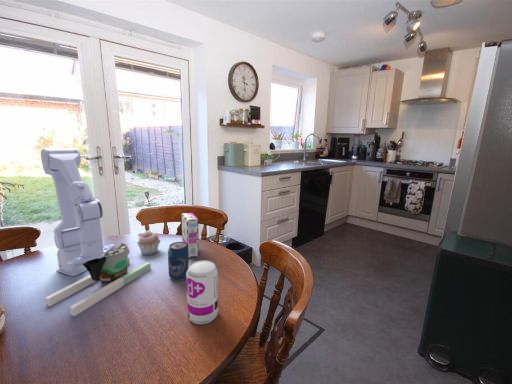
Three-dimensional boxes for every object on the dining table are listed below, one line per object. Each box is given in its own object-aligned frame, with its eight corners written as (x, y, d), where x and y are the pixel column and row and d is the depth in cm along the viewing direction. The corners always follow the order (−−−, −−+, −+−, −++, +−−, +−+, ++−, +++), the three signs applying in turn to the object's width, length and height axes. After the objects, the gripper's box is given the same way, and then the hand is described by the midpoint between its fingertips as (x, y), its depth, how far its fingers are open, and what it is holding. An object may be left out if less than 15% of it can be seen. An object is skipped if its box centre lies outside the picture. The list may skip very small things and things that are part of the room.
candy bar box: (199, 256, 106) (198, 219, 102) (187, 258, 103) (186, 220, 100) (193, 246, 115) (192, 211, 112) (182, 248, 113) (180, 213, 110)
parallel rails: (46, 305, 73) (45, 297, 73) (126, 262, 99) (126, 256, 98) (74, 316, 69) (73, 308, 68) (150, 268, 95) (150, 262, 94)
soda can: (167, 282, 86) (166, 250, 84) (170, 272, 93) (168, 241, 90) (188, 280, 87) (187, 248, 85) (189, 270, 94) (188, 240, 92)
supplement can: (203, 330, 65) (202, 277, 62) (181, 318, 69) (179, 268, 66) (223, 313, 72) (223, 264, 69) (202, 302, 76) (201, 256, 73)
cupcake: (165, 248, 112) (164, 227, 110) (152, 258, 103) (151, 235, 101) (147, 246, 114) (145, 225, 112) (132, 255, 105) (130, 232, 103)
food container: (114, 287, 82) (111, 259, 80) (98, 285, 84) (94, 257, 82) (138, 269, 94) (136, 244, 92) (124, 267, 95) (121, 242, 93)
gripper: (76, 251, 70) (82, 295, 73) (121, 233, 83) (124, 271, 86) (59, 247, 72) (65, 289, 75) (105, 230, 85) (109, 267, 88)
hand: (96, 279), depth 81 cm, fingers closed
